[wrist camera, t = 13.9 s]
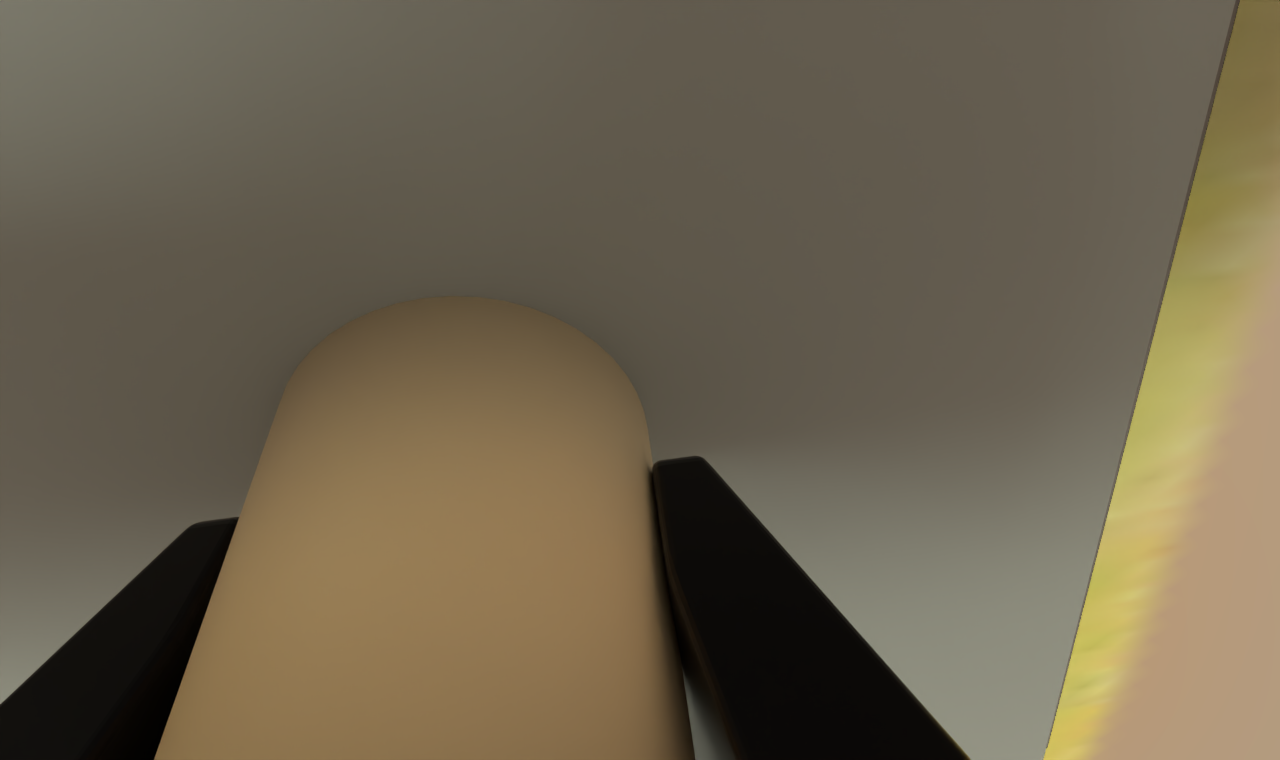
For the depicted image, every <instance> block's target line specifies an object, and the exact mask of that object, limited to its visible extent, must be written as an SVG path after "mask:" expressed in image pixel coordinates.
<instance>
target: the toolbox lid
mask: <svg viewBox="0 0 1280 760" xmlns="http://www.w3.org/2000/svg"><path fill="white" fill-rule="evenodd" d="M1235 1H1236V0H0V704H1V703H2V702H3V701H4V700H5V699H6V698H7V697H8V696H9V695H11V694H12V693H13V692H14V691H15V690H16V689H17V688H18V687H19V686H20V685H21V684H22V683H23V682H24V681H25V680H26V679H28V678H29V677H30V676H31V675H32V674H33V673H34V672H35V671H36V670H37V669H38V668H39V667H40V666H41V665H42V664H43V663H44V662H46V661H47V660H48V659H49V658H50V657H51V656H52V655H53V654H54V653H55V652H56V651H57V650H58V649H59V648H60V647H61V646H62V645H64V644H65V643H66V642H67V641H68V640H69V639H70V638H71V637H72V636H73V635H74V634H75V633H76V632H77V631H78V630H79V629H80V628H82V627H83V626H84V625H85V624H86V623H87V622H88V621H89V620H90V619H91V618H92V617H93V616H94V615H95V614H96V613H97V612H98V611H100V610H101V609H102V608H103V607H104V606H105V605H106V604H107V603H108V602H109V601H110V600H111V599H112V598H113V597H114V596H115V595H116V594H118V593H119V592H120V591H121V590H122V589H123V588H124V587H125V586H126V585H127V584H128V583H129V582H130V581H131V580H132V579H133V578H134V577H136V576H137V575H138V574H139V573H140V572H141V571H142V570H143V569H144V568H145V567H146V566H147V565H148V564H149V563H150V562H151V561H152V560H154V559H155V558H156V557H157V556H158V555H159V554H160V553H161V552H162V551H163V550H164V549H165V548H166V547H167V546H168V545H169V544H170V543H172V542H173V541H174V540H175V539H176V538H177V537H178V536H179V535H180V534H181V533H182V532H183V531H184V530H186V529H187V528H188V527H189V526H191V525H193V524H194V523H198V522H201V521H208V520H216V519H223V518H231V517H239V519H238V522H237V525H236V528H235V531H234V534H233V536H232V539H231V542H230V545H229V548H228V551H227V553H226V556H225V559H224V562H223V565H222V568H221V571H220V573H219V576H218V579H217V582H216V585H215V588H214V590H213V593H212V596H211V599H210V602H209V605H208V607H207V610H206V613H205V616H204V619H203V622H202V625H201V627H200V630H199V633H198V636H197V639H196V642H195V644H194V647H193V650H192V653H191V656H190V659H189V661H188V664H187V667H186V670H185V673H184V676H183V679H182V681H181V684H180V687H179V690H178V693H177V696H176V698H175V701H174V704H173V707H172V710H171V713H170V715H169V718H168V721H167V724H166V727H165V730H164V733H163V735H162V738H161V741H160V744H159V747H158V750H157V752H156V755H155V758H154V760H696V759H695V752H694V745H693V739H692V732H691V725H690V718H689V711H688V704H687V697H686V690H685V683H684V676H683V669H682V662H681V656H680V650H679V645H678V640H677V635H676V629H675V624H674V619H673V613H672V607H671V602H670V596H669V590H668V583H667V576H666V569H665V562H664V555H663V547H662V540H661V533H660V526H659V519H658V512H657V505H656V498H655V491H654V484H653V477H652V467H653V464H654V463H655V462H657V461H659V460H665V459H673V458H680V457H688V456H700V457H703V458H704V459H705V460H706V461H707V462H708V463H709V464H710V465H711V466H712V467H713V468H714V469H715V471H716V472H717V473H718V474H719V475H720V476H721V477H722V478H723V480H724V481H725V482H726V483H727V484H728V485H729V486H730V487H731V489H732V490H733V491H734V492H735V493H736V494H737V495H738V496H739V498H740V499H741V500H742V501H743V502H744V503H745V504H746V506H747V507H748V508H749V509H750V510H751V511H752V512H753V513H754V515H755V516H756V517H757V518H758V519H759V520H760V521H761V522H762V524H763V525H764V526H765V527H766V528H767V529H768V530H769V532H770V533H771V534H772V535H773V536H774V537H775V538H776V539H777V541H778V542H779V543H780V544H781V545H782V546H783V547H784V548H785V550H786V551H787V552H788V553H789V554H790V555H791V556H792V558H793V559H794V560H795V561H796V562H797V563H798V564H799V565H800V567H801V568H802V569H803V570H804V571H805V572H806V573H807V574H808V576H809V577H810V578H811V579H812V580H813V581H814V582H815V583H816V585H817V586H818V587H819V588H820V589H821V590H822V591H823V593H824V594H825V595H826V596H827V597H828V598H829V599H830V600H831V602H832V603H833V604H834V605H835V606H836V607H837V608H838V609H839V611H840V612H841V613H842V614H843V615H844V616H845V617H846V619H847V620H848V621H849V622H850V623H851V624H852V625H853V626H854V628H855V629H856V630H857V631H858V632H859V633H860V634H861V635H862V637H863V638H864V639H865V640H866V641H867V642H868V643H869V644H870V646H871V647H872V648H873V649H874V650H875V651H876V652H877V654H878V655H879V656H880V657H881V658H882V659H883V660H884V661H885V663H886V664H887V665H888V666H889V667H890V668H891V669H892V670H893V672H894V673H895V674H896V675H897V676H898V677H899V678H900V680H901V681H902V682H903V683H904V684H905V685H906V686H907V687H908V689H909V690H910V691H911V692H912V693H913V694H914V695H915V696H916V698H917V699H918V700H919V701H920V702H921V703H922V704H923V705H924V707H925V708H926V709H927V710H928V711H929V712H930V713H931V715H932V716H933V717H934V718H935V719H936V720H937V721H938V722H939V724H940V725H941V726H942V727H943V728H944V729H945V730H946V731H947V733H948V734H949V735H950V736H951V737H952V738H953V739H954V741H955V742H956V743H957V744H958V745H959V746H960V747H961V748H962V750H963V751H964V752H965V753H966V754H967V755H968V756H969V758H970V759H971V760H1043V758H1044V754H1045V750H1046V746H1047V742H1048V738H1049V734H1050V731H1051V727H1052V723H1053V719H1054V715H1055V711H1056V707H1057V703H1058V699H1059V695H1060V691H1061V687H1062V683H1063V679H1064V675H1065V671H1066V667H1067V663H1068V660H1069V656H1070V652H1071V648H1072V644H1073V640H1074V636H1075V632H1076V628H1077V624H1078V620H1079V616H1080V612H1081V608H1082V604H1083V600H1084V596H1085V593H1086V589H1087V585H1088V581H1089V577H1090V573H1091V569H1092V565H1093V561H1094V557H1095V553H1096V549H1097V545H1098V541H1099V537H1100V533H1101V529H1102V525H1103V522H1104V518H1105V514H1106V510H1107V506H1108V502H1109V498H1110V494H1111V490H1112V486H1113V482H1114V478H1115V474H1116V470H1117V466H1118V462H1119V458H1120V455H1121V451H1122V447H1123V443H1124V439H1125V435H1126V431H1127V427H1128V423H1129V419H1130V415H1131V411H1132V407H1133V403H1134V399H1135V395H1136V391H1137V387H1138V384H1139V380H1140V376H1141V372H1142V368H1143V364H1144V360H1145V356H1146V352H1147V348H1148V344H1149V340H1150V336H1151V332H1152V328H1153V324H1154V320H1155V316H1156V313H1157V309H1158V305H1159V301H1160V297H1161V293H1162V289H1163V285H1164V281H1165V277H1166V273H1167V269H1168V265H1169V261H1170V257H1171V253H1172V249H1173V246H1174V242H1175V238H1176V234H1177V230H1178V226H1179V222H1180V218H1181V214H1182V210H1183V206H1184V202H1185V198H1186V194H1187V190H1188V186H1189V182H1190V179H1191V175H1192V171H1193V167H1194V163H1195V159H1196V155H1197V151H1198V147H1199V143H1200V139H1201V135H1202V131H1203V127H1204V123H1205V119H1206V115H1207V111H1208V108H1209V104H1210V100H1211V96H1212V92H1213V88H1214V84H1215V80H1216V76H1217V72H1218V68H1219V64H1220V60H1221V56H1222V52H1223V48H1224V44H1225V40H1226V37H1227V33H1228V29H1229V25H1230V21H1231V17H1232V13H1233V9H1234V5H1235Z"/></svg>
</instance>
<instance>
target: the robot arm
mask: <svg viewBox="0 0 1280 760" xmlns="http://www.w3.org/2000/svg"><path fill="white" fill-rule="evenodd" d="M652 477H653V484H654V491H655V498H656V505H657V512H658V519H659V526H660V533H661V540H662V547H663V555H664V562H665V569H666V576H667V583H668V590H669V596H670V602H671V607H672V613H673V619H674V624H675V629H676V635H677V640H678V645H679V650H680V656H681V662H682V669H683V676H684V683H685V690H686V697H687V704H688V711H689V718H690V725H691V732H692V739H693V745H694V752H695V759H696V760H971V759H970V758H969V756H968V755H967V754H966V753H965V752H964V751H963V750H962V748H961V747H960V746H959V745H958V744H957V743H956V742H955V741H954V739H953V738H952V737H951V736H950V735H949V734H948V733H947V731H946V730H945V729H944V728H943V727H942V726H941V725H940V724H939V722H938V721H937V720H936V719H935V718H934V717H933V716H932V715H931V713H930V712H929V711H928V710H927V709H926V708H925V707H924V705H923V704H922V703H921V702H920V701H919V700H918V699H917V698H916V696H915V695H914V694H913V693H912V692H911V691H910V690H909V689H908V687H907V686H906V685H905V684H904V683H903V682H902V681H901V680H900V678H899V677H898V676H897V675H896V674H895V673H894V672H893V670H892V669H891V668H890V667H889V666H888V665H887V664H886V663H885V661H884V660H883V659H882V658H881V657H880V656H879V655H878V654H877V652H876V651H875V650H874V649H873V648H872V647H871V646H870V644H869V643H868V642H867V641H866V640H865V639H864V638H863V637H862V635H861V634H860V633H859V632H858V631H857V630H856V629H855V628H854V626H853V625H852V624H851V623H850V622H849V621H848V620H847V619H846V617H845V616H844V615H843V614H842V613H841V612H840V611H839V609H838V608H837V607H836V606H835V605H834V604H833V603H832V602H831V600H830V599H829V598H828V597H827V596H826V595H825V594H824V593H823V591H822V590H821V589H820V588H819V587H818V586H817V585H816V583H815V582H814V581H813V580H812V579H811V578H810V577H809V576H808V574H807V573H806V572H805V571H804V570H803V569H802V568H801V567H800V565H799V564H798V563H797V562H796V561H795V560H794V559H793V558H792V556H791V555H790V554H789V553H788V552H787V551H786V550H785V548H784V547H783V546H782V545H781V544H780V543H779V542H778V541H777V539H776V538H775V537H774V536H773V535H772V534H771V533H770V532H769V530H768V529H767V528H766V527H765V526H764V525H763V524H762V522H761V521H760V520H759V519H758V518H757V517H756V516H755V515H754V513H753V512H752V511H751V510H750V509H749V508H748V507H747V506H746V504H745V503H744V502H743V501H742V500H741V499H740V498H739V496H738V495H737V494H736V493H735V492H734V491H733V490H732V489H731V487H730V486H729V485H728V484H727V483H726V482H725V481H724V480H723V478H722V477H721V476H720V475H719V474H718V473H717V472H716V471H715V469H714V468H713V467H712V466H711V465H710V464H709V463H708V462H707V461H706V460H705V459H704V458H703V457H700V456H688V457H680V458H673V459H665V460H659V461H657V462H655V463H654V464H653V467H652ZM238 519H239V517H231V518H223V519H216V520H208V521H201V522H198V523H194V524H193V525H191V526H189V527H188V528H187V529H186V530H184V531H183V532H182V533H181V534H180V535H179V536H178V537H177V538H176V539H175V540H174V541H173V542H172V543H170V544H169V545H168V546H167V547H166V548H165V549H164V550H163V551H162V552H161V553H160V554H159V555H158V556H157V557H156V558H155V559H154V560H152V561H151V562H150V563H149V564H148V565H147V566H146V567H145V568H144V569H143V570H142V571H141V572H140V573H139V574H138V575H137V576H136V577H134V578H133V579H132V580H131V581H130V582H129V583H128V584H127V585H126V586H125V587H124V588H123V589H122V590H121V591H120V592H119V593H118V594H116V595H115V596H114V597H113V598H112V599H111V600H110V601H109V602H108V603H107V604H106V605H105V606H104V607H103V608H102V609H101V610H100V611H98V612H97V613H96V614H95V615H94V616H93V617H92V618H91V619H90V620H89V621H88V622H87V623H86V624H85V625H84V626H83V627H82V628H80V629H79V630H78V631H77V632H76V633H75V634H74V635H73V636H72V637H71V638H70V639H69V640H68V641H67V642H66V643H65V644H64V645H62V646H61V647H60V648H59V649H58V650H57V651H56V652H55V653H54V654H53V655H52V656H51V657H50V658H49V659H48V660H47V661H46V662H44V663H43V664H42V665H41V666H40V667H39V668H38V669H37V670H36V671H35V672H34V673H33V674H32V675H31V676H30V677H29V678H28V679H26V680H25V681H24V682H23V683H22V684H21V685H20V686H19V687H18V688H17V689H16V690H15V691H14V692H13V693H12V694H11V695H9V696H8V697H7V698H6V699H5V700H4V701H3V702H2V703H1V704H0V760H154V758H155V755H156V752H157V750H158V747H159V744H160V741H161V738H162V735H163V733H164V730H165V727H166V724H167V721H168V718H169V715H170V713H171V710H172V707H173V704H174V701H175V698H176V696H177V693H178V690H179V687H180V684H181V681H182V679H183V676H184V673H185V670H186V667H187V664H188V661H189V659H190V656H191V653H192V650H193V647H194V644H195V642H196V639H197V636H198V633H199V630H200V627H201V625H202V622H203V619H204V616H205V613H206V610H207V607H208V605H209V602H210V599H211V596H212V593H213V590H214V588H215V585H216V582H217V579H218V576H219V573H220V571H221V568H222V565H223V562H224V559H225V556H226V553H227V551H228V548H229V545H230V542H231V539H232V536H233V534H234V531H235V528H236V525H237V522H238Z"/></svg>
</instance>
